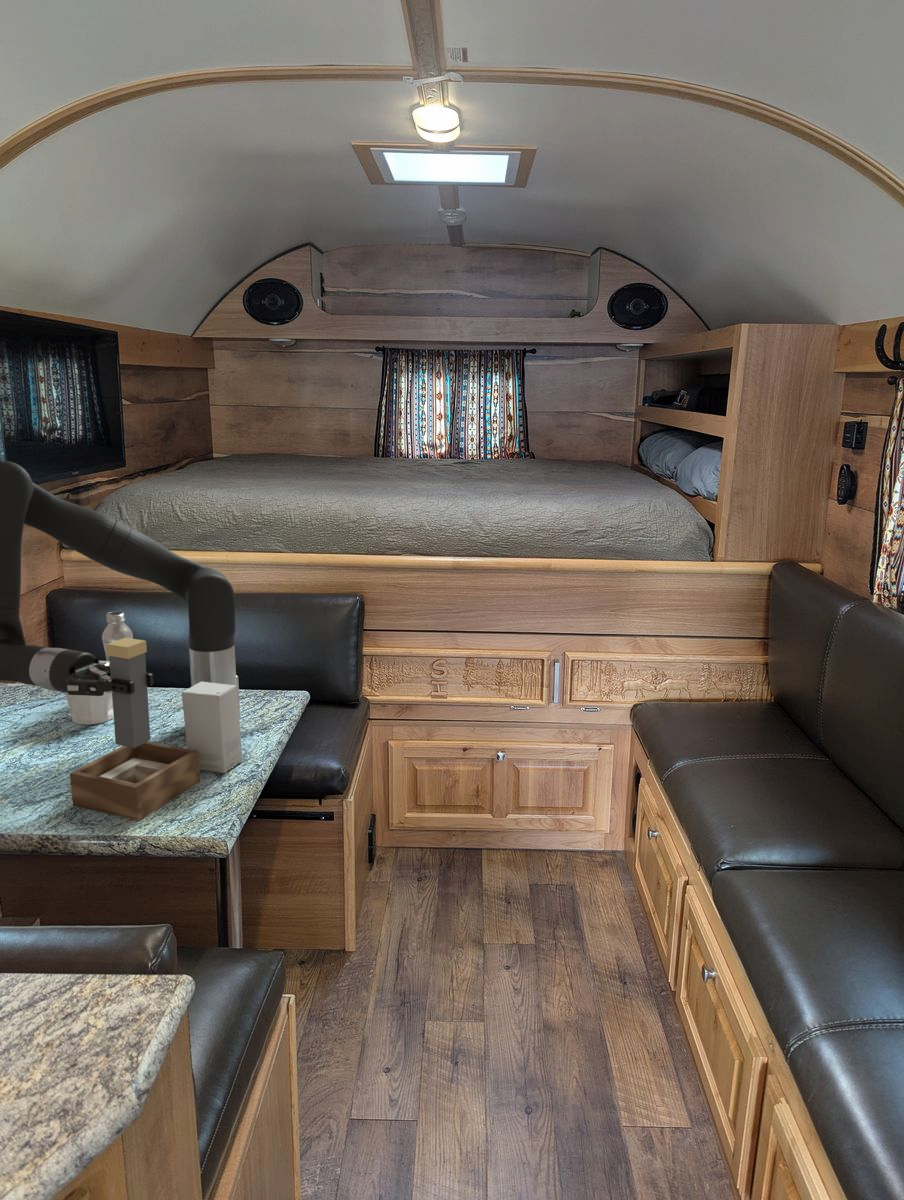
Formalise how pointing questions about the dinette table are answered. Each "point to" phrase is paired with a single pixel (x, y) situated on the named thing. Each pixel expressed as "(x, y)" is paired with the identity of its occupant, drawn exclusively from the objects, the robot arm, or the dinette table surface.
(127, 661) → the grey plug
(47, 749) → the dinette table surface
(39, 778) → the dinette table surface
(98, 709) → the cup
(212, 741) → the skincare box
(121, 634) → the plastic bottle
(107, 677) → the robot arm
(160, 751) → the walnut box
